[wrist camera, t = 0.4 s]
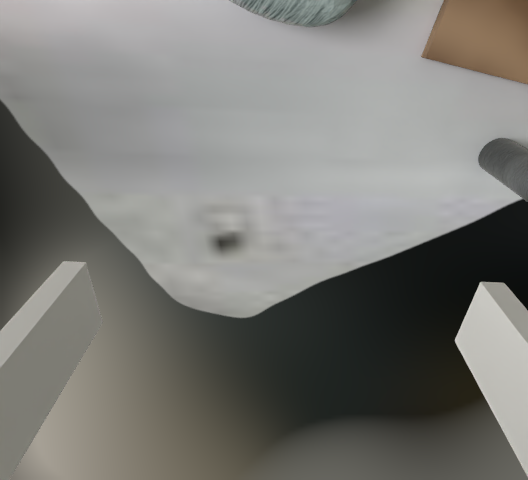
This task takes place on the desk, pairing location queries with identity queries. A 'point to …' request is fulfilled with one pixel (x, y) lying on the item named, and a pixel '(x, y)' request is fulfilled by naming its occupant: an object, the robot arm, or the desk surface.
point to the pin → (507, 164)
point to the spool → (298, 10)
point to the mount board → (482, 37)
